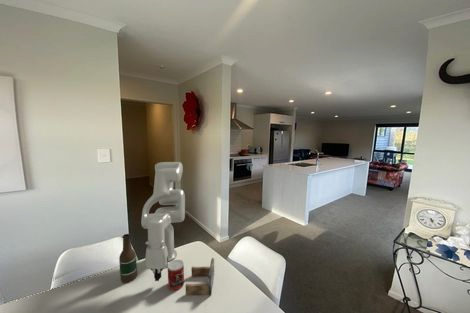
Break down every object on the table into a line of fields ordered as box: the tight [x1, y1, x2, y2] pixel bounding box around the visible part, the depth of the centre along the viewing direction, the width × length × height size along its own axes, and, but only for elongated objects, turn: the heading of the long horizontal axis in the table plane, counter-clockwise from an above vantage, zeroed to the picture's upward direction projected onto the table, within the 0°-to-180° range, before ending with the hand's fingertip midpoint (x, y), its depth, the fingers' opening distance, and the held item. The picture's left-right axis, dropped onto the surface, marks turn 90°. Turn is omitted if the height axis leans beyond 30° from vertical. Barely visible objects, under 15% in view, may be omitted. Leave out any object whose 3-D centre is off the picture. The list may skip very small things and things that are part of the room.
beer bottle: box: [118, 233, 138, 284], centre depth 102 cm, size 8×8×24 cm
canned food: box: [167, 259, 185, 291], centre depth 98 cm, size 8×8×11 cm
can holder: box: [185, 257, 215, 297], centre depth 98 cm, size 12×13×10 cm
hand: (157, 279), depth 97 cm, fingers closed
